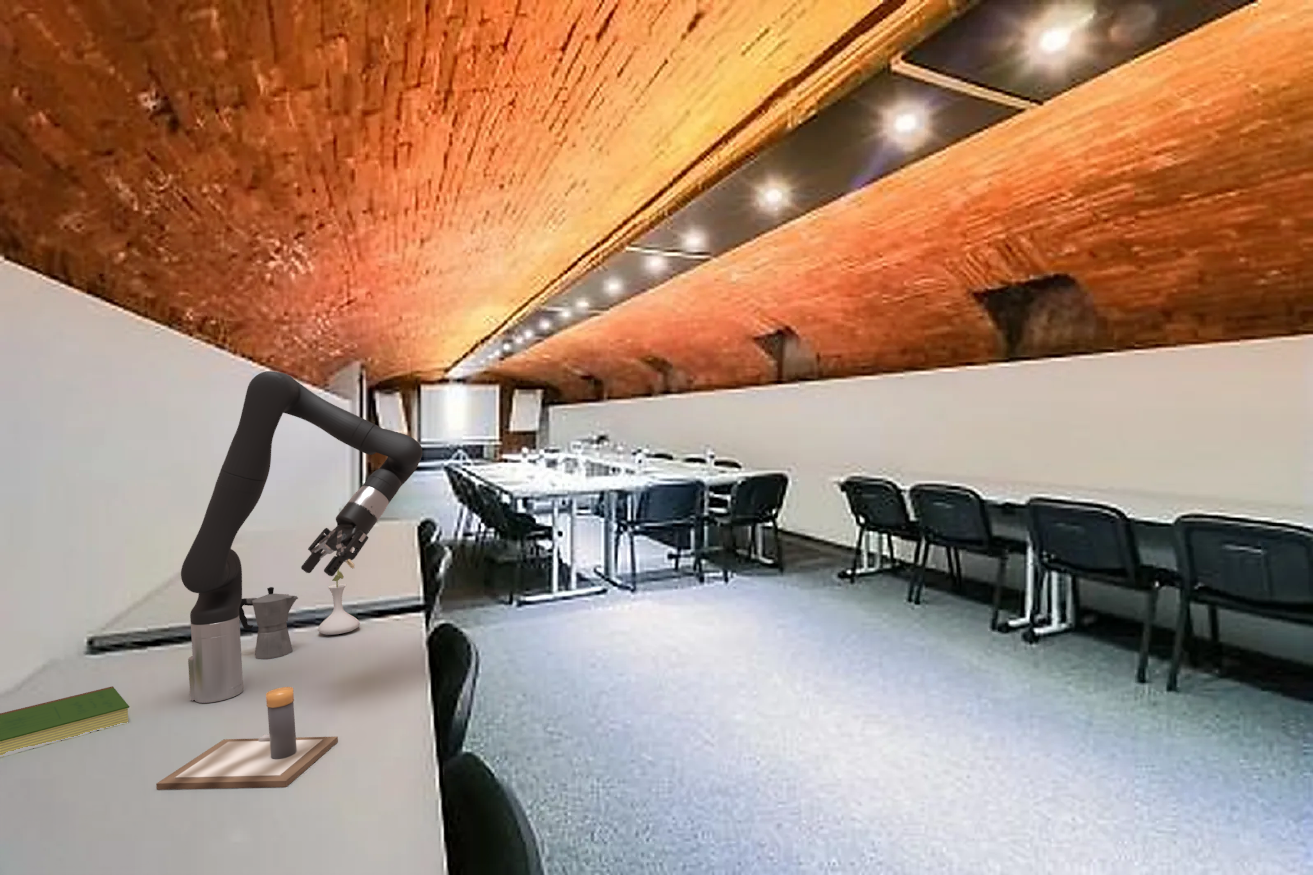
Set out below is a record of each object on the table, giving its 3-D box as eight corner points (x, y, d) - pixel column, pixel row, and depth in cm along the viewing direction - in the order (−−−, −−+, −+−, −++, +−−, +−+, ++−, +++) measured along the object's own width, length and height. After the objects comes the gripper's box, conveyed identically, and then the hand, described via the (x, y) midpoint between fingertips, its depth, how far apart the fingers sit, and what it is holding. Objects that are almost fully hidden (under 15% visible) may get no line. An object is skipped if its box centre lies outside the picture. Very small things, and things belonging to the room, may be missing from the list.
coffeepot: (305, 645, 189) (302, 581, 189) (295, 656, 180) (291, 588, 180) (244, 652, 186) (240, 586, 186) (230, 663, 177) (227, 594, 176)
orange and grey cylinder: (264, 759, 118) (260, 696, 118) (280, 748, 122) (275, 687, 122) (287, 759, 117) (283, 695, 117) (302, 747, 122) (298, 686, 122)
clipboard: (156, 789, 112) (155, 778, 112) (223, 744, 127) (223, 735, 127) (286, 787, 110) (285, 775, 110) (337, 741, 126) (337, 732, 126)
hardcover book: (113, 702, 153) (112, 686, 153) (130, 724, 140) (129, 706, 140) (-46, 743, 135) (-47, 724, 135) (-44, 772, 122) (-45, 751, 122)
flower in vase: (349, 637, 196) (345, 550, 196) (310, 639, 196) (305, 552, 196) (369, 624, 209) (365, 543, 209) (332, 626, 209) (328, 544, 209)
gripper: (332, 500, 154) (284, 560, 144) (371, 501, 146) (322, 564, 136) (355, 520, 158) (310, 579, 149) (393, 522, 150) (348, 585, 141)
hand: (316, 572), depth 143 cm, fingers open, 8 cm apart
